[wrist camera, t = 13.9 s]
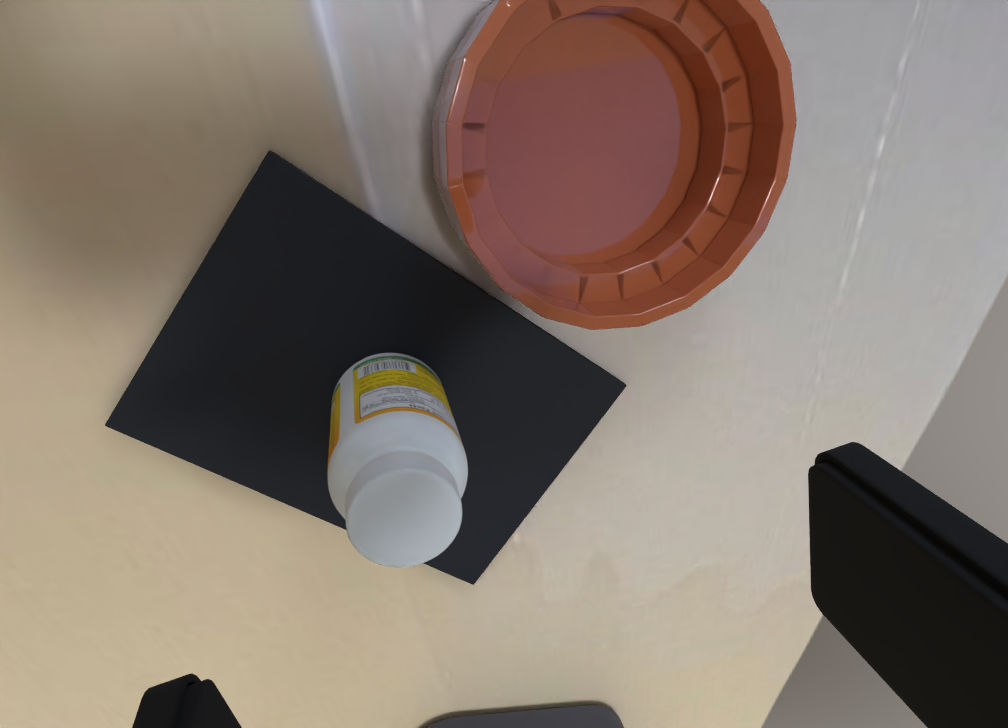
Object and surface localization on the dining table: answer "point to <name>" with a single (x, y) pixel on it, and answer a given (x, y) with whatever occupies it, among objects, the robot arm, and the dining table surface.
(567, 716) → the streaming box
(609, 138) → the bowl
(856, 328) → the dining table surface
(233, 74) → the dining table surface
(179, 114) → the dining table surface
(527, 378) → the mat
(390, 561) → the supplement bottle
